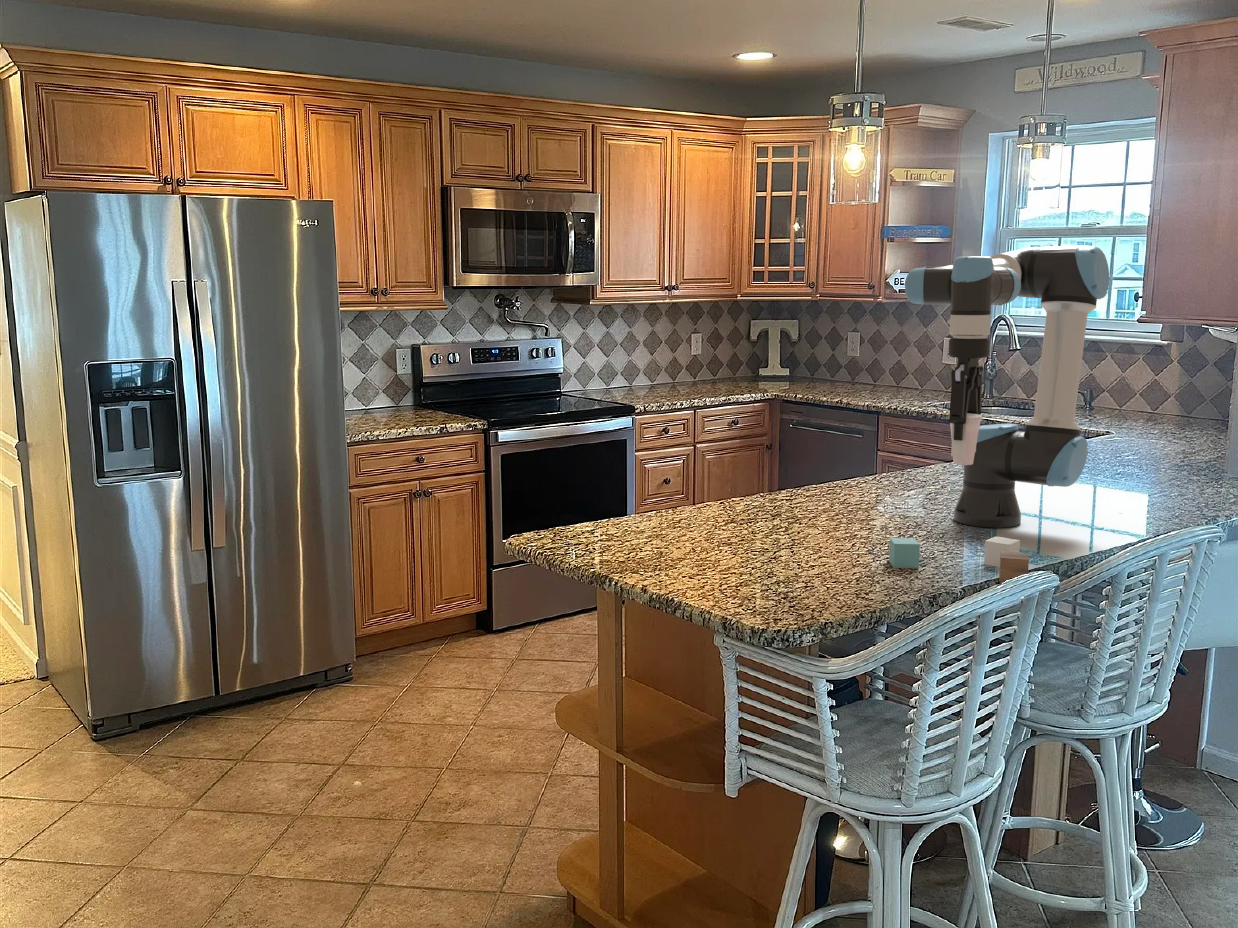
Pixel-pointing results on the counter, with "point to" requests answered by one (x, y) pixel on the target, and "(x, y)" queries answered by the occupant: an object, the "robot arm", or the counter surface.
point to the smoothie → (969, 439)
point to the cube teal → (904, 553)
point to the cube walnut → (1013, 565)
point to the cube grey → (999, 549)
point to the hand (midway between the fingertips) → (963, 453)
